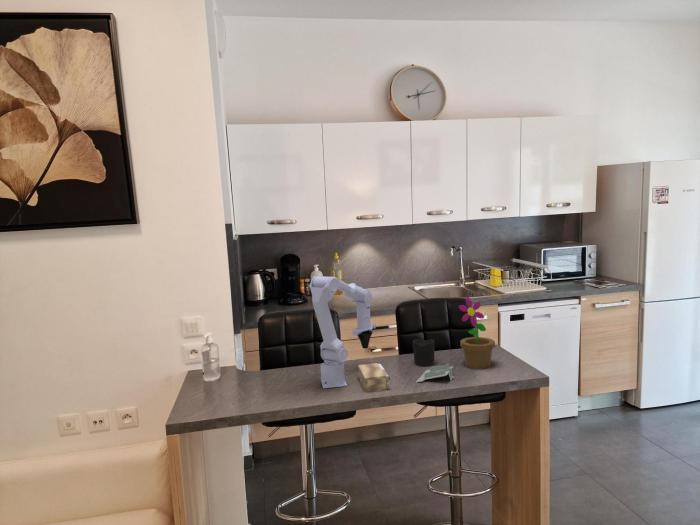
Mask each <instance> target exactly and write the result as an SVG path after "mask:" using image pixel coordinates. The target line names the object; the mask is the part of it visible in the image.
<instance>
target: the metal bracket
mask: <svg viewBox="0 0 700 525" xmlns="http://www.w3.org/2000/svg"><path fill="white" fill-rule="evenodd" d="M453 368H454V366H450V364H448V363H447V364H444V365H434V366H431V367H429V368H428V369H426V370H425V371H424V372H423V373H422V375H421V376H420V377H419V378H418V379H417V380H416V381H415V383H423V382H424V381H425V380H430V379H436V378H441V377H442V378H443V377H445V376H447V375H448V377H449V379H450V381H453V379H455V376H454V375H453V371H452V370H453Z"/></svg>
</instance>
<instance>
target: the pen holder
mask: <svg viewBox="0 0 700 525" xmlns="http://www.w3.org/2000/svg"><path fill="white" fill-rule="evenodd" d="M412 348H413V349H412V350H413V360H414V362H413V363H414V364H415V365H416V366H418V365H420V366H419V367H429V366H433V365H434V364H435V340H434V339H431V338H430V339H422V338H415V339H413V340H412Z"/></svg>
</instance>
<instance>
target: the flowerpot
mask: <svg viewBox="0 0 700 525" xmlns="http://www.w3.org/2000/svg"><path fill="white" fill-rule="evenodd" d="M465 304H466V305H463V304H460V305H458V309H459V310H460V311H462V312H464V313H465V312H467V313H465V314H463V316H462V318H461V321H462V322H467V320H469V319H470V324H471V325H472V326H473V327H475V329H470V330H468V331H467V333H468V334H470V335H473V337H471V336H470V337H465V338H462V339H461V340H459V343H460V344H459V345H460V348H461V349H463V356H464V362H465V365H466V367H468V368H471V369H486V368H489V367H490V366H491V365H492V354H493V349H494V348H495V347H496V342H495V340H494V339H492V338H488V337H481V336H479V331H480V332H485V331H487V328H486V326H485V325H484V324H482V323H480V322H479V323H478V320H477V318H478V319H481V320H482V319H484V318H485V315H484V314H483V313H482V312H480V311H475V310H478V309H479V308H481V304H482V303H481V301H477V302H475V303H474V304H473V302H472V300H471V298H470V297H469V296H467V297H466V298H465Z"/></svg>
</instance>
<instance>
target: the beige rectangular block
mask: <svg viewBox="0 0 700 525" xmlns="http://www.w3.org/2000/svg"><path fill="white" fill-rule="evenodd" d="M378 364H379V363H376V362H375V363H366V364H358V365H357V366H358V380H359V381H360V383H361V385H362V387H363V389H364V391H365V392H366V393H371V392H379V391H387V390H390V380H391V377H390V376H389V374H388V372H387V371H386V370H385V369H384V370H382V369H381V368H380V366H379V365H378Z"/></svg>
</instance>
